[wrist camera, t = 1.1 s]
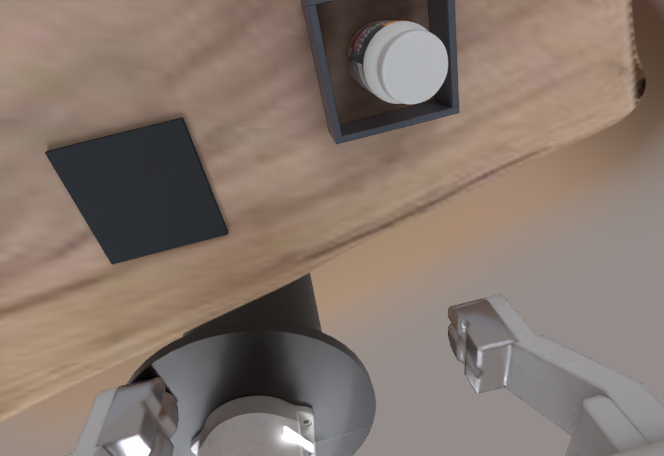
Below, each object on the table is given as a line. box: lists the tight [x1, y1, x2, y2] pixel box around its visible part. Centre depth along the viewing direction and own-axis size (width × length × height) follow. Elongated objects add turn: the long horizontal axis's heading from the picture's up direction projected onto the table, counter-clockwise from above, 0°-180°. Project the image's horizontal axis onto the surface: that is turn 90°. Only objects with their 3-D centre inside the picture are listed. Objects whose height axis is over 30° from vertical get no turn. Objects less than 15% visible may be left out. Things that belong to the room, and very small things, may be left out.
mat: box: [45, 118, 228, 264], centre depth 36 cm, size 12×12×1 cm
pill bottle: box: [347, 20, 448, 104], centre depth 30 cm, size 6×6×10 cm
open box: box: [301, 0, 459, 144], centre depth 33 cm, size 11×11×4 cm
